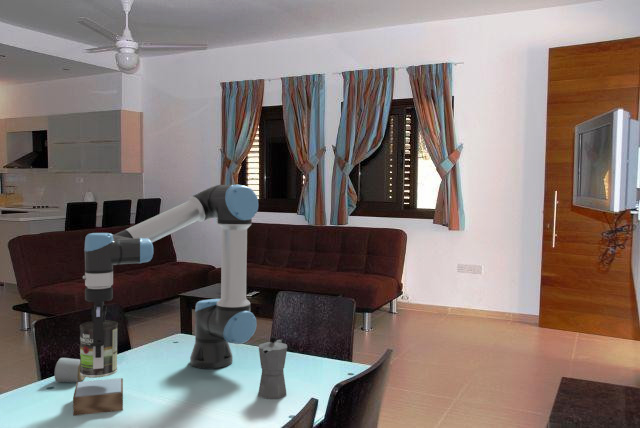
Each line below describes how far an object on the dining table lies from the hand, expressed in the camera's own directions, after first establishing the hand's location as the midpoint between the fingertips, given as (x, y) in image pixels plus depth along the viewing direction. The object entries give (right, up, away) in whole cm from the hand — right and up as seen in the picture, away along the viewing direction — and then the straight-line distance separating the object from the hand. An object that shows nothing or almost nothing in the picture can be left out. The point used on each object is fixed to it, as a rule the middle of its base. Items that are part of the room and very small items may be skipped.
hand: (99, 362), depth 164 cm
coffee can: (0, -3, 0) cm, 3 cm away
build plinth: (0, -12, +1) cm, 12 cm away
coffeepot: (+50, -13, +12) cm, 53 cm away
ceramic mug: (-17, -12, +21) cm, 29 cm away
